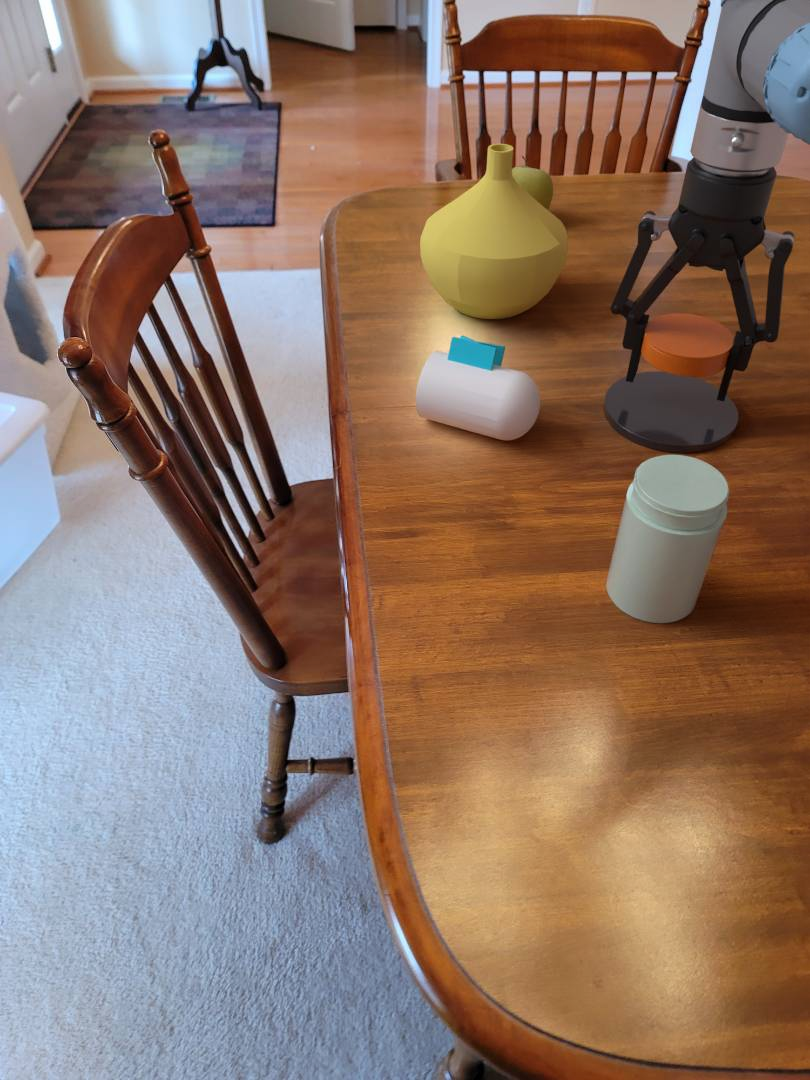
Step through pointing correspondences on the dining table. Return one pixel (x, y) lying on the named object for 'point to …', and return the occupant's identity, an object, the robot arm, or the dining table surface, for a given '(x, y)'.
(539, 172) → the apple
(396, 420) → the dining table surface
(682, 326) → the lid
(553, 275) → the vase
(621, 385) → the mat
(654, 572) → the jar
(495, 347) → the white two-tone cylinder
